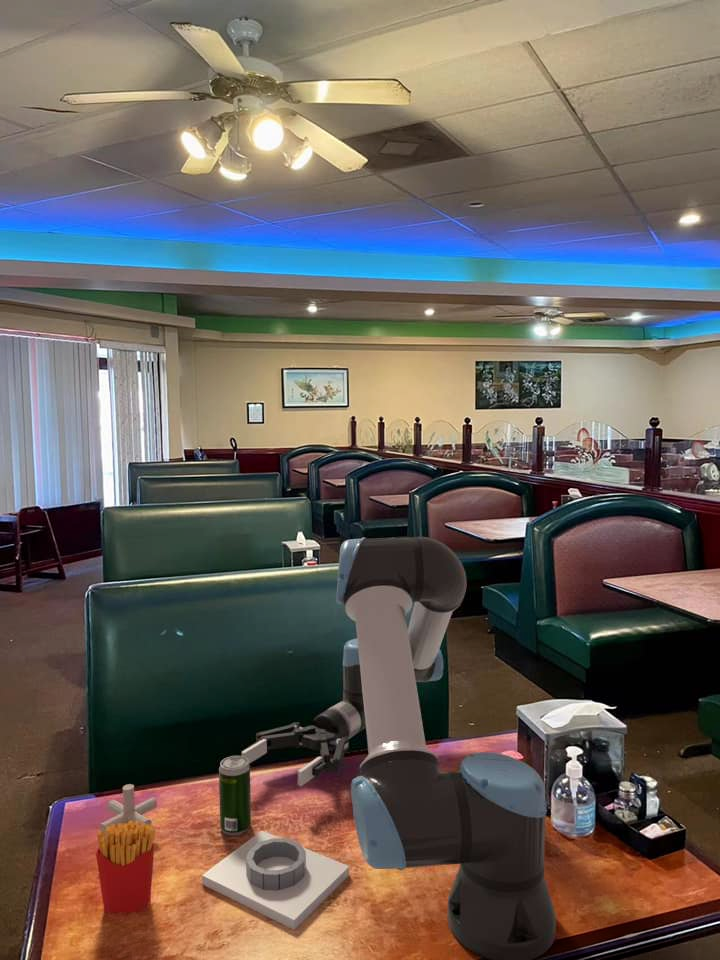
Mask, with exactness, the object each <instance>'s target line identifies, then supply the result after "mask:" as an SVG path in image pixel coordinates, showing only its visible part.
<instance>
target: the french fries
mask: <svg viewBox="0 0 720 960" xmlns="http://www.w3.org/2000/svg"><path fill="white" fill-rule="evenodd" d="M139 823H140V821H136V822H135V823H133V821H130V820H129V822H128V824H124V825H122V823H118V826H117V828H116V825H115V824H112V825H111V826H108V827H107V828H106V833H105V835H103V832H102V830H100V829H98V830H97V834H96V835H97V842H98V848H97V850H96V852H95V857H96V864H97V870H98V871H97V872H98V876H99V882H100V890H101V896H102V903H103V910H104V911H106V912H107V913H108V914H135V913H136V914H138V913H139V912H142V911H144V910H146V909H148V907H149V905H150V901H151V894H152V880H153V867H154V857H155V855H154V854H155V843H154V840H155V832H156V828H157V827H156V826H152V825H151V827H150V825H147V823H141V825H139Z"/></svg>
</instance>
